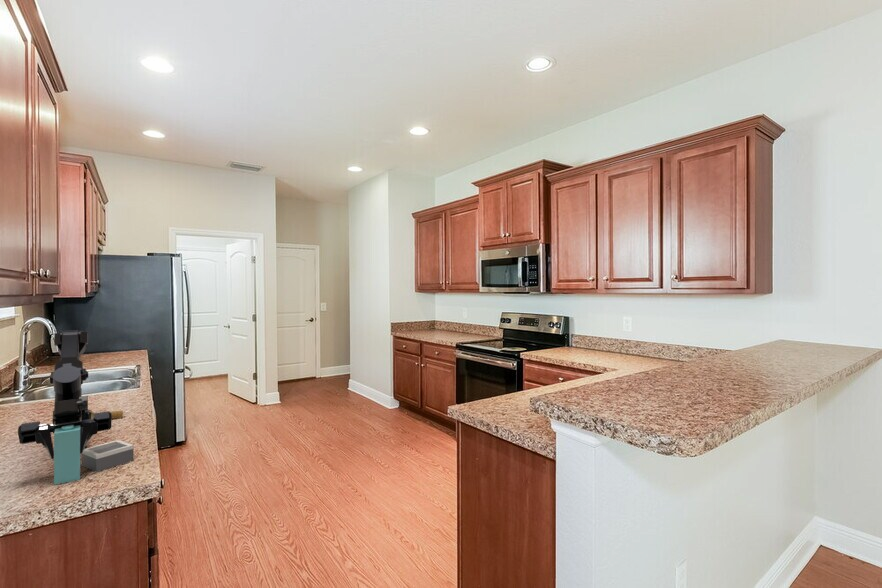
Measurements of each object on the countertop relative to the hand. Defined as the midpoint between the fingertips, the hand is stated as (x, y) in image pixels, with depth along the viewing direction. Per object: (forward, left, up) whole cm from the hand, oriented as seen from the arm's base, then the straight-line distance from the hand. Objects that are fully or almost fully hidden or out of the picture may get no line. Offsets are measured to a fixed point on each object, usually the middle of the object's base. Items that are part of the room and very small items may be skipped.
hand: (66, 455), depth 111 cm
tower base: (-6, +10, -7) cm, 13 cm away
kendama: (-59, +16, -7) cm, 62 cm away
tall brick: (-1, 0, -7) cm, 7 cm away
